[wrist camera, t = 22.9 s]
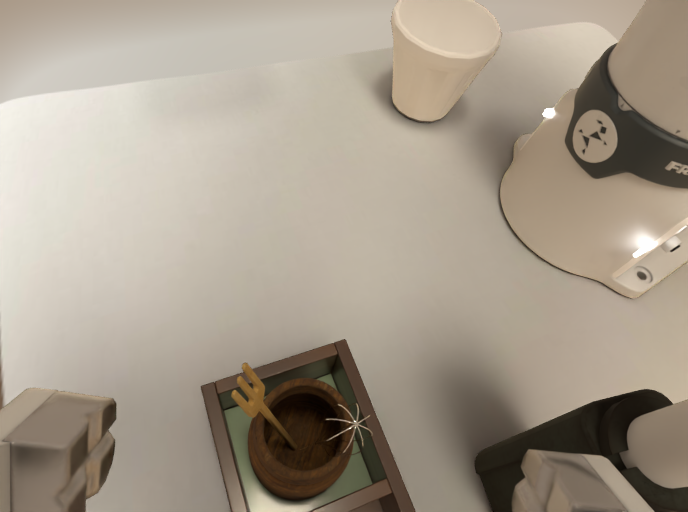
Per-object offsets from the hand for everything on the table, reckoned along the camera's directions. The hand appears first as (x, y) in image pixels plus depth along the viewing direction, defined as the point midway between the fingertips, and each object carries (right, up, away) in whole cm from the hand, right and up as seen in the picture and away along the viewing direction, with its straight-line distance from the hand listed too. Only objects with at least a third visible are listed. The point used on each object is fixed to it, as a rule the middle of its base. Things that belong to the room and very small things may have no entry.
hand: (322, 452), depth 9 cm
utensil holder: (-3, -8, +21) cm, 22 cm away
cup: (+8, +20, +41) cm, 46 cm away
